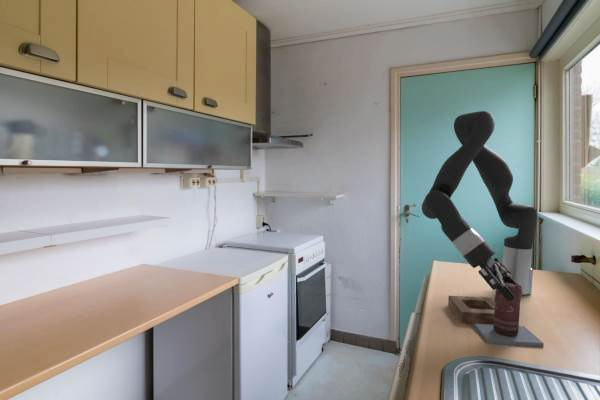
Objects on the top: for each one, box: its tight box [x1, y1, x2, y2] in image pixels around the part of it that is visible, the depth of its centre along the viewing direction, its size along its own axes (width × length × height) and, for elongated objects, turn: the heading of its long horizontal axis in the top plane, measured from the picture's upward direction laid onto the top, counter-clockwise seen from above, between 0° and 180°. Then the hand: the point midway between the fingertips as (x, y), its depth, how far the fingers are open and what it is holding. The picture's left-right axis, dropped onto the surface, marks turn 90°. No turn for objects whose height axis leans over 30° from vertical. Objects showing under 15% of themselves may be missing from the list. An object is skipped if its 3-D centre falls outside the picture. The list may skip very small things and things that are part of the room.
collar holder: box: [447, 295, 495, 325], centre depth 115 cm, size 14×14×4 cm
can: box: [493, 281, 523, 337], centre depth 101 cm, size 6×6×14 cm
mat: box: [473, 324, 545, 348], centre depth 101 cm, size 14×10×1 cm
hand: (515, 295), depth 99 cm, fingers open, 8 cm apart
